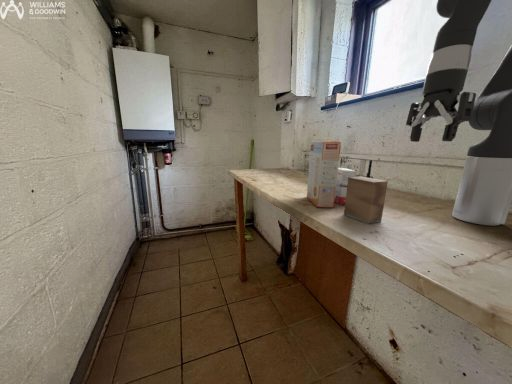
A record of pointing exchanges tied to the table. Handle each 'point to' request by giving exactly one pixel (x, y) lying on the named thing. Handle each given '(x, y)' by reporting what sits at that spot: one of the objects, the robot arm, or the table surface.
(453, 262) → the table surface
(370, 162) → the walkie-talkie
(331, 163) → the cracker box
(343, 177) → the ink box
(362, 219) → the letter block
